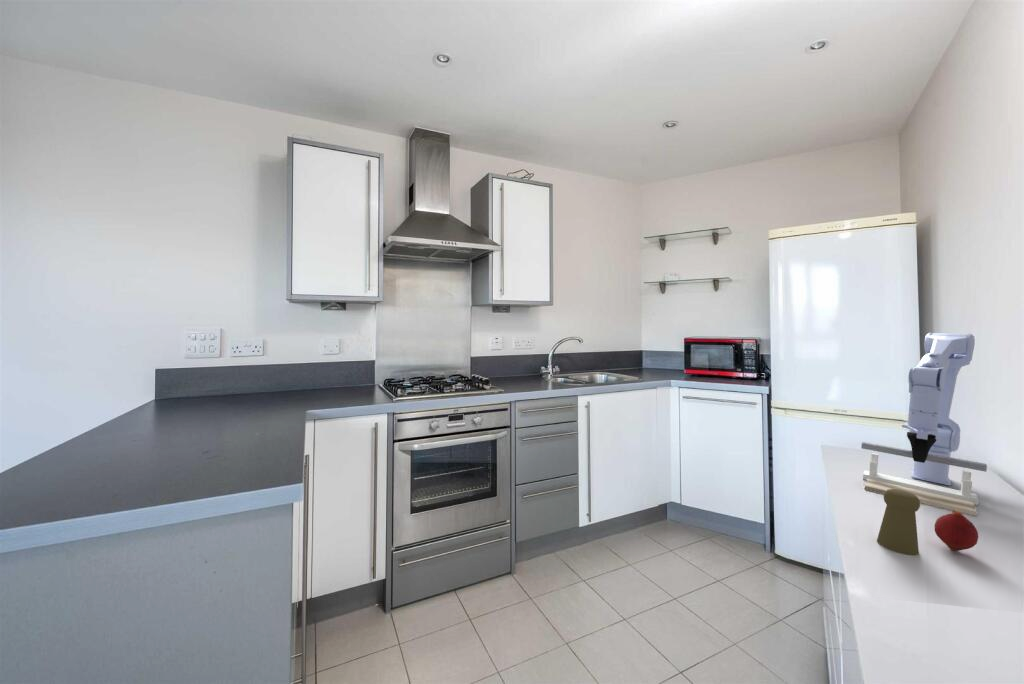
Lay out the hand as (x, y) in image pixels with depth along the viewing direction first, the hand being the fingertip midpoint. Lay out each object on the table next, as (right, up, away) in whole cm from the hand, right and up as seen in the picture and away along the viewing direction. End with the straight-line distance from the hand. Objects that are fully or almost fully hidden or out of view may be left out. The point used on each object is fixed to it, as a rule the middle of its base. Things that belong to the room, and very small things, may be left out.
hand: (918, 460), depth 113 cm
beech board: (-6, -8, -6) cm, 12 cm away
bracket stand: (0, -8, 0) cm, 8 cm away
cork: (-35, -8, -31) cm, 48 cm away
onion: (-25, -9, -32) cm, 41 cm away
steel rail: (0, +1, 0) cm, 1 cm away
